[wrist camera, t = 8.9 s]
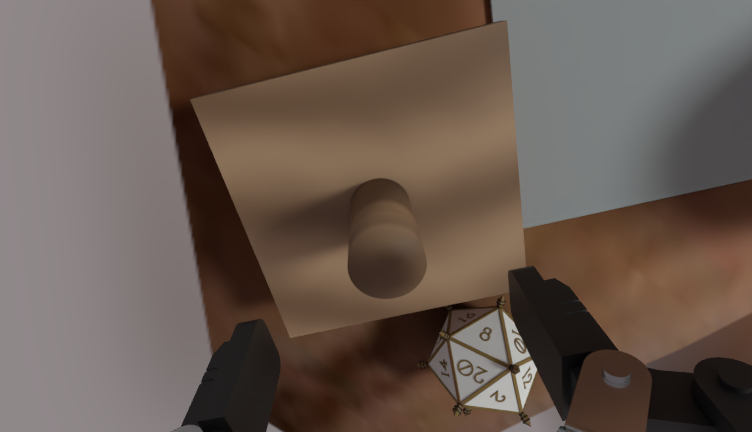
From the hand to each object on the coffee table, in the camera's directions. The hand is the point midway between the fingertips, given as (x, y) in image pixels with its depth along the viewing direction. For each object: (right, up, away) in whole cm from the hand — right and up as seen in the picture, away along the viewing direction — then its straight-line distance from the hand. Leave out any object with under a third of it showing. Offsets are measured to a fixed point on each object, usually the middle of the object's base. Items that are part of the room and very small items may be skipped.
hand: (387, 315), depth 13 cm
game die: (+7, -5, +19) cm, 21 cm away
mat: (+16, +12, +12) cm, 23 cm away
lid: (0, +4, +9) cm, 10 cm away
